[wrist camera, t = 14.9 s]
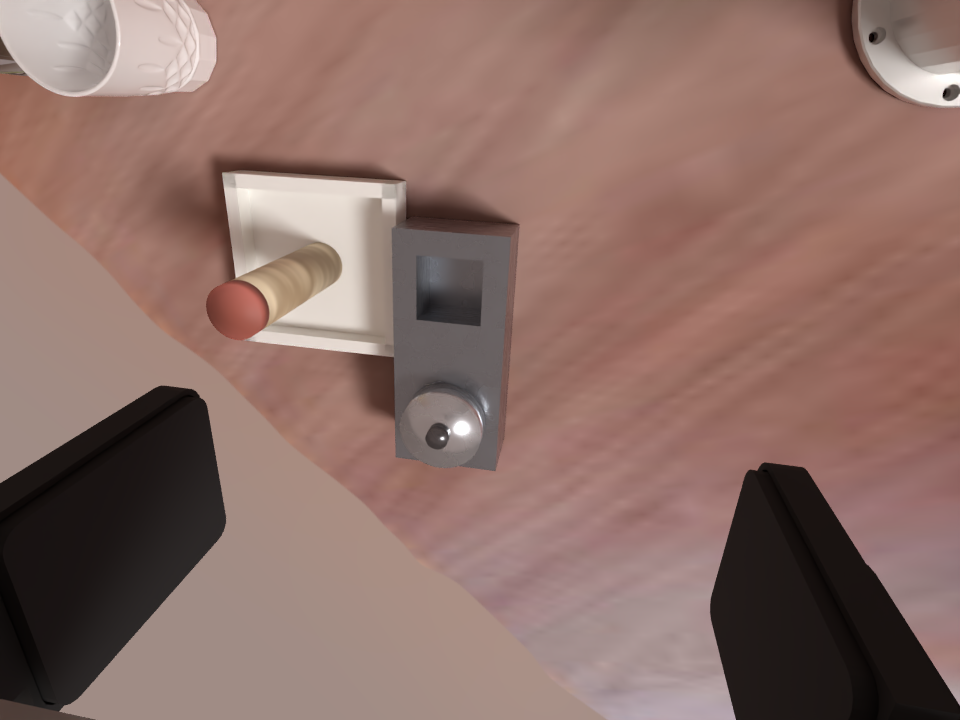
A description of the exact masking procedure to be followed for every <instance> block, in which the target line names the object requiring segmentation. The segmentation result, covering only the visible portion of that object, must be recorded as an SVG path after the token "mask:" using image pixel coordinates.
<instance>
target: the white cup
mask: <svg viewBox="0 0 960 720" xmlns="http://www.w3.org/2000/svg"><path fill="white" fill-rule="evenodd" d="M0 37H1V39H2V41H3V43H4V45H5V47H6V49H7V50H8V52H9V53H10V55H11V56H12V58H13V59H14V61H15V62H16V63H17V64H18V66H19V67H20V68H21V69H22V70H23V71H24V72H25V73H26V74H27V75H28V76H29V77H30V78H31V79H32V80H34V81H35V82H36V83H38V84H39V85H41V86H42V87H44V88H46V89H47V90H49V91H52V92H54V93H57V94H60V95H64V96H70V97H96V96H147V95H162V94H164V93H180V92H194V91H195V90H196V89H198V88H199V87H200V86H202V85H203V84H205V83H206V82H207V81H208V80H209V78H210V76H211V73H212V71H213V69H214V66H215V64H216V36H215V33H214V30H213V28H212V25H211V22H210V20H209V17H208V14H207V13H206V12H205V11H204V9H203V8H202V7H201V6H200V5H199V3H198V2H197V1H196V0H0Z"/></svg>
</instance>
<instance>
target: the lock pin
mask: <svg viewBox="0 0 960 720" xmlns="http://www.w3.org/2000/svg"><path fill="white" fill-rule="evenodd" d="M341 273H342V261H341V258H340V256H339V254H338V253H337V252H336V250H335V249H333V248H332V247H331V246H329V245H327V244H325V243H320V242H316V243H312V244H310V245H307V246H305V247H303V248H301V249H299V250H296V251H294V252H292V253H290V254H288V255H286V256H283V257H281V258H279V259H277V260H275V261H272V262H270V263H268V264H266V265H264V266H261V267H259V268H257V269H255V270H253V271H250V272H248V273H246V274H244V275H242V276H239V277H237V278H235V279H233V280H231V281H228V282H226V283H224V284H222V285H220V286H217V287H216V288H214V289H213V290H212V291H211V292H210V294H209V295H208V298H207V302H206V309H207V314H208V317H209V319H210V321H211V323H212V324H213V326H214V327H215V328H216V329H217V330H218V331H219V332H220V333H222V334H223V335H225V336H226V337H228V338H231V339H235V340H245V339H248V338H251V337H252V336H254V335H255V334H257V333H258V332H260V331H261V330H263V329H264V328H266V327H268V326H269V325H271V324H272V323H274V322H275V321H277V320H278V319H280V318H281V317H283V316H284V315H286V314H287V313H289V312H291V311H292V310H294V309H295V308H297V307H298V306H300V305H301V304H303V303H304V302H306V301H307V300H309V299H310V298H312V297H314V296H315V295H317V294H318V293H320V292H321V291H323V290H324V289H326V288H327V287H329V286H330V285H332V284H333V283H335V282H336V281H337V280H338V279H339V278H340V276H341Z"/></svg>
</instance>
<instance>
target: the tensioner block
mask: <svg viewBox="0 0 960 720" xmlns="http://www.w3.org/2000/svg"><path fill="white" fill-rule="evenodd" d="M518 236H519V224H508V223H494V222H481V221H468V220H455V219H441V218H428V217H415V216H412V217H411V218H409V219H407V220H405V221H403V222H401V223H400V224H398V225H396V226H394V227H392V280H393V334H394V389H395V443H396V457H398V458H405V459H412V460H420V461H422V462H423V463H425V464H428V465H430V466H434V467H439V468H452V467H456V466H463V467H470V468H477V469H484V470H492V471H496V467H497V463H498V459H499V456H500V452H501V448H502V444H503V440H504V432H505V418H506V404H507V390H508V376H509V362H510V348H511V334H512V320H513V306H514V292H515V278H516V264H517V250H518Z"/></svg>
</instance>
